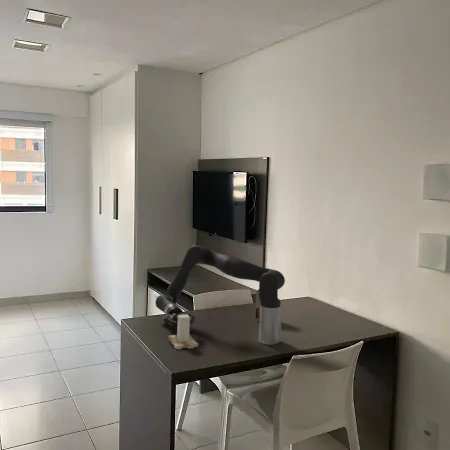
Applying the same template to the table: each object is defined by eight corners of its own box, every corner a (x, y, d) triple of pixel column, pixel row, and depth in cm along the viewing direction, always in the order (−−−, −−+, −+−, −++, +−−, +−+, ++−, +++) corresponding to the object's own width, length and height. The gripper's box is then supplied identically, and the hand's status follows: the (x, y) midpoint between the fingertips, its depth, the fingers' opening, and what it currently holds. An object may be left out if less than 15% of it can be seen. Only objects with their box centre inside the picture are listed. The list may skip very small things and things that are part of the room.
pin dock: (189, 336, 222) (189, 328, 222) (198, 347, 209) (198, 338, 209) (168, 338, 219) (168, 330, 218) (176, 349, 206) (176, 340, 205)
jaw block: (186, 337, 216) (187, 314, 215) (188, 341, 212) (189, 317, 211) (177, 338, 215) (177, 315, 214) (179, 341, 211) (180, 317, 210)
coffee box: (273, 319, 254) (275, 290, 252) (271, 323, 248) (273, 292, 246) (257, 317, 257) (258, 288, 255) (254, 320, 250) (256, 291, 249)
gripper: (159, 306, 226) (167, 316, 211) (188, 304, 231) (198, 314, 216) (158, 321, 227) (166, 332, 212) (187, 319, 232) (197, 330, 217)
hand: (182, 323), depth 214 cm, fingers open, 8 cm apart
